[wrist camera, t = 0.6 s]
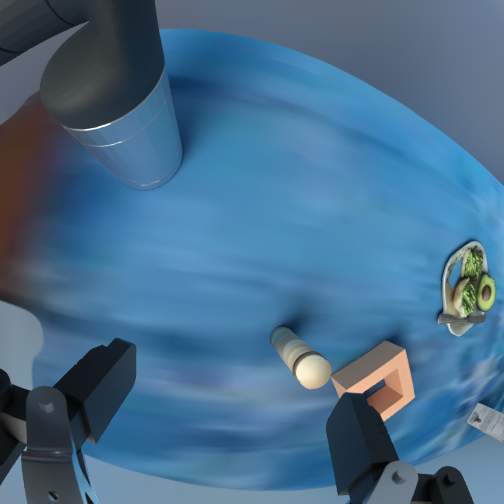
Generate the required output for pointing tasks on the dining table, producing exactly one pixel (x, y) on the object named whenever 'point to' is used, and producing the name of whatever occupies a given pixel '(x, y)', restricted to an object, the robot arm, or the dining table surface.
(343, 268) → the dining table surface
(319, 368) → the birch peg
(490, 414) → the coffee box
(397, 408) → the orange square ring
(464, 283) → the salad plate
